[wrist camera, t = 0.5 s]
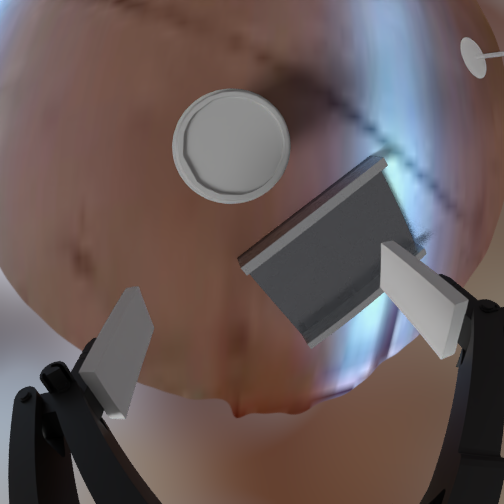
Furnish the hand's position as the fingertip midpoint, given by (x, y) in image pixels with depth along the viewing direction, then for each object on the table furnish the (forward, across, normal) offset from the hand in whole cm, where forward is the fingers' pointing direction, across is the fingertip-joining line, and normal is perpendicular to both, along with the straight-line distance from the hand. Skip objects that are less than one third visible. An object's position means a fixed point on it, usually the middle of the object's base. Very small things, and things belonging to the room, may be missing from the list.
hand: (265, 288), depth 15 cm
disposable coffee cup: (+22, -2, +7) cm, 23 cm away
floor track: (+22, +11, -9) cm, 27 cm away
